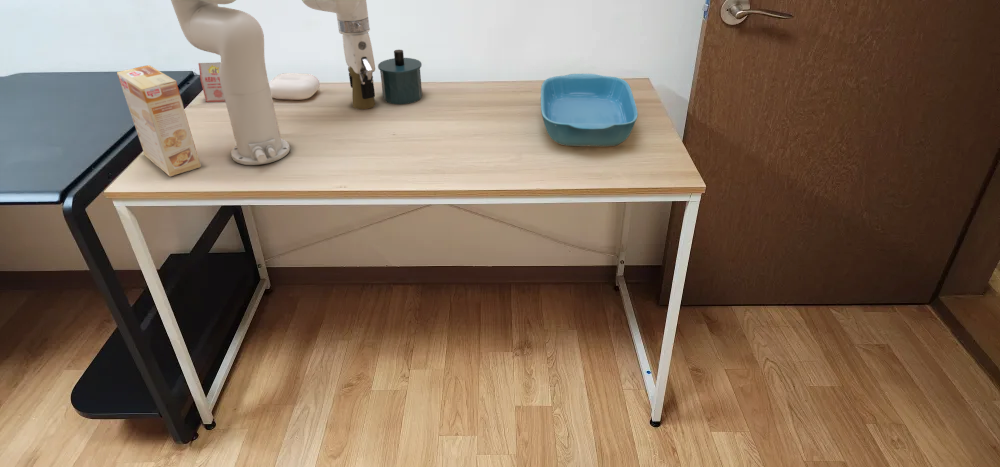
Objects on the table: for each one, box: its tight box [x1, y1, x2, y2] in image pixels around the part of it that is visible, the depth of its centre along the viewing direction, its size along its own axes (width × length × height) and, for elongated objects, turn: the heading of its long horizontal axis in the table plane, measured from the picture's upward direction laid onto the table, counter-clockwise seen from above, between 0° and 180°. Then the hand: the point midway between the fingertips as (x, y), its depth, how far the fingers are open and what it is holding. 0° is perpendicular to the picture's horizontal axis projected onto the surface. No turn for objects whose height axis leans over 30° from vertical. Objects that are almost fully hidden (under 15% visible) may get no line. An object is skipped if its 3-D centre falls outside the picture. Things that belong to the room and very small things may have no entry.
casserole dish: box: [540, 73, 639, 147], centre depth 156 cm, size 37×22×7 cm, turn 177°
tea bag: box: [197, 61, 225, 103], centre depth 171 cm, size 4×7×10 cm, turn 95°
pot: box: [379, 68, 423, 105], centre depth 172 cm, size 10×10×8 cm
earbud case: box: [268, 72, 321, 101], centre depth 174 cm, size 10×13×5 cm
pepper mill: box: [348, 66, 377, 110], centre depth 166 cm, size 6×6×11 cm
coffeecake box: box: [116, 64, 202, 177], centre depth 137 cm, size 15×7×20 cm, turn 44°
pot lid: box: [377, 49, 422, 74], centre depth 168 cm, size 11×11×5 cm
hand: (362, 92), depth 168 cm, fingers open, 8 cm apart
